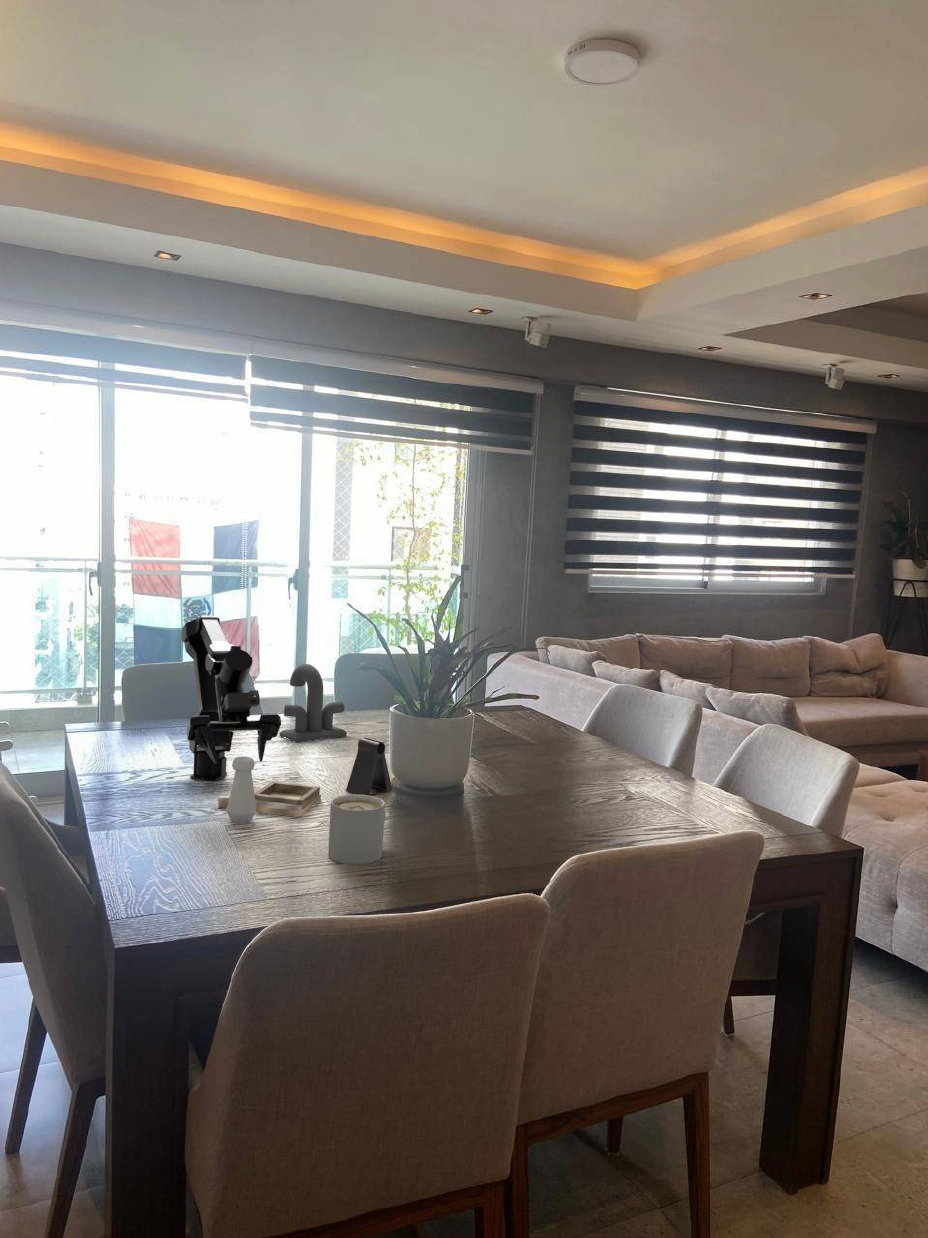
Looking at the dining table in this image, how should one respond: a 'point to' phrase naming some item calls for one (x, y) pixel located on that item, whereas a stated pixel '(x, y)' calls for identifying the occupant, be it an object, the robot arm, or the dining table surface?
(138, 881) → the dining table surface
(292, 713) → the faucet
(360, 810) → the coffee mug
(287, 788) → the wooden tray
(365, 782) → the dark brown phone stand
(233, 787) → the salt shaker
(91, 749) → the dining table surface
